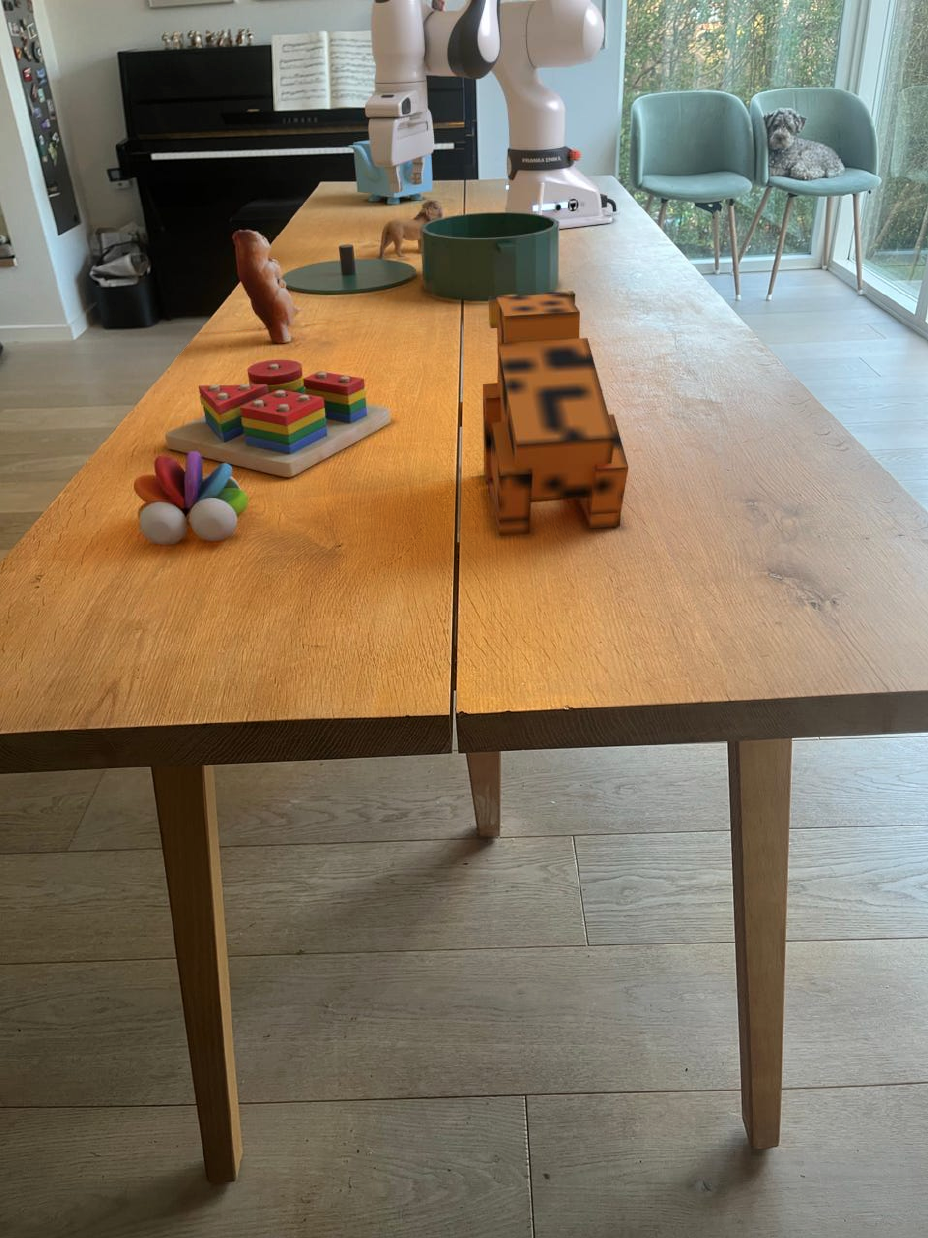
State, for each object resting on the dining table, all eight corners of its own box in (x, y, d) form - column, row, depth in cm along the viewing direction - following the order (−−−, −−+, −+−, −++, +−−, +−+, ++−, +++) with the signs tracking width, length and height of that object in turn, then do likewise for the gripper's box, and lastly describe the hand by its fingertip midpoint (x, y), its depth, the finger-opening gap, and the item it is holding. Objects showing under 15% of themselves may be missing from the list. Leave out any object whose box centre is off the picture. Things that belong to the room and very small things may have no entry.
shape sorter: (289, 479, 97) (281, 420, 94) (165, 449, 105) (153, 393, 102) (393, 422, 109) (388, 368, 106) (274, 398, 117) (267, 348, 114)
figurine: (308, 334, 140) (294, 222, 132) (278, 350, 134) (262, 234, 126) (272, 331, 142) (256, 221, 134) (241, 346, 136) (222, 232, 128)
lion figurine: (434, 247, 187) (431, 196, 182) (451, 251, 183) (449, 199, 179) (370, 260, 179) (366, 208, 174) (387, 265, 176) (383, 211, 171)
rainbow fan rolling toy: (151, 511, 92) (134, 438, 88) (255, 504, 92) (243, 431, 88) (133, 554, 85) (113, 476, 81) (246, 546, 85) (232, 468, 81)
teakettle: (362, 194, 243) (356, 128, 235) (438, 191, 242) (434, 125, 234) (352, 208, 227) (346, 137, 219) (433, 205, 226) (429, 134, 218)
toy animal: (502, 547, 83) (498, 361, 75) (479, 456, 100) (474, 296, 92) (625, 538, 84) (635, 353, 75) (582, 449, 101) (586, 289, 92)
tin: (535, 263, 172) (536, 205, 167) (578, 301, 150) (580, 235, 145) (413, 273, 169) (410, 214, 164) (438, 313, 147) (434, 247, 142)
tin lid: (406, 261, 178) (404, 228, 175) (425, 291, 159) (423, 254, 156) (280, 271, 175) (276, 237, 172) (283, 303, 156) (278, 265, 153)
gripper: (408, 95, 178) (412, 179, 185) (360, 106, 161) (367, 196, 169) (440, 95, 176) (444, 179, 183) (395, 105, 159) (401, 197, 167)
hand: (407, 188), depth 176 cm, fingers open, 8 cm apart
